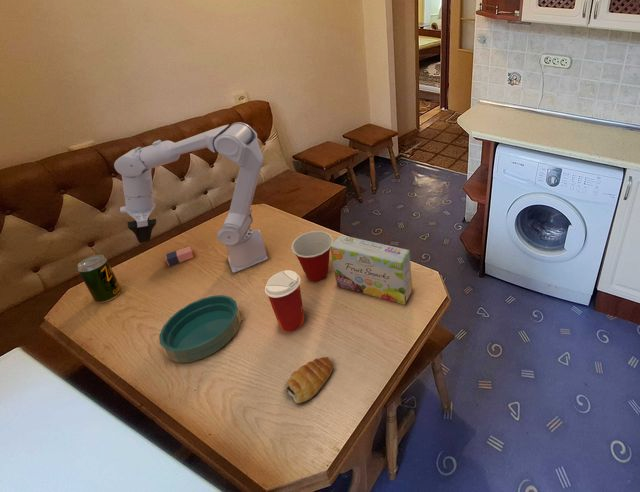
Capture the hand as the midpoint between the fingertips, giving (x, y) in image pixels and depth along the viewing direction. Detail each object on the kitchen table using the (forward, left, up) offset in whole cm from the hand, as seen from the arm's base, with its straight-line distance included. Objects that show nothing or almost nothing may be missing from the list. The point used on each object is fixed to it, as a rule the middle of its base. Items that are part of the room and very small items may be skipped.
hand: (143, 233), depth 100 cm
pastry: (-22, +62, -13) cm, 67 cm away
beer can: (+11, +4, -13) cm, 18 cm away
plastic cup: (-35, +32, -13) cm, 49 cm away
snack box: (-45, +48, -13) cm, 67 cm away
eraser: (-5, -1, -13) cm, 14 cm away
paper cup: (-24, +44, -13) cm, 52 cm away
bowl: (-7, +34, -13) cm, 37 cm away
